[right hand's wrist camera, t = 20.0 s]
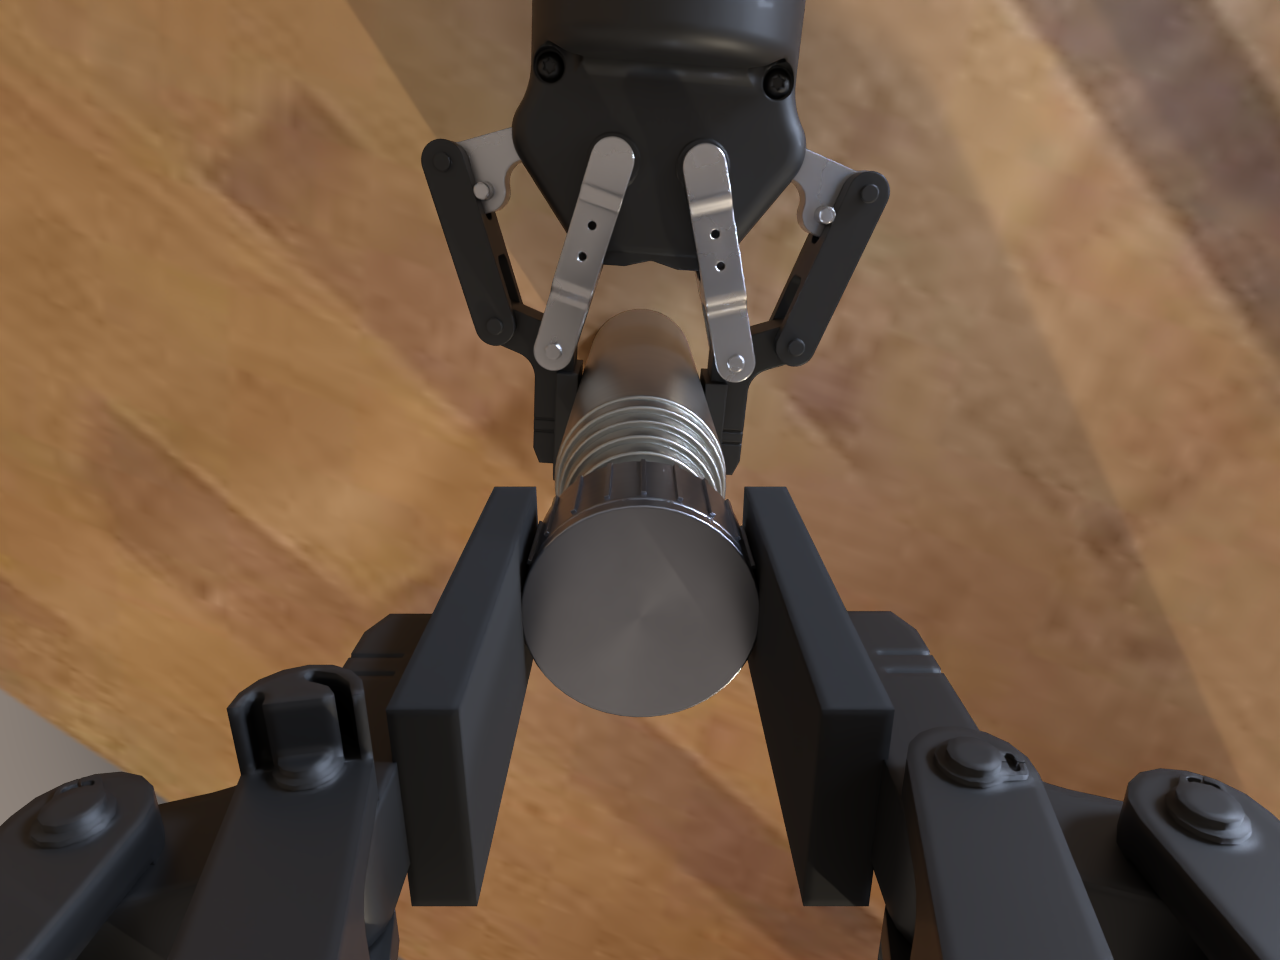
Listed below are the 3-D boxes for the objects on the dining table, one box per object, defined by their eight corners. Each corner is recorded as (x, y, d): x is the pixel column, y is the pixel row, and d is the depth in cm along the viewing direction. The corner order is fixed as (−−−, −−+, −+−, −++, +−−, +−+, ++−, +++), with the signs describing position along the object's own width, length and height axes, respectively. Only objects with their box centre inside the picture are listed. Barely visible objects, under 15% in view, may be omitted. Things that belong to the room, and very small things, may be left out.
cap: (490, 569, 15) (465, 630, 13) (626, 411, 14) (623, 450, 12) (652, 685, 16) (654, 759, 14) (791, 545, 15) (815, 603, 12)
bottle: (675, 419, 32) (721, 719, 14) (579, 395, 32) (498, 670, 14) (703, 323, 31) (793, 517, 13) (603, 297, 31) (548, 457, 12)
